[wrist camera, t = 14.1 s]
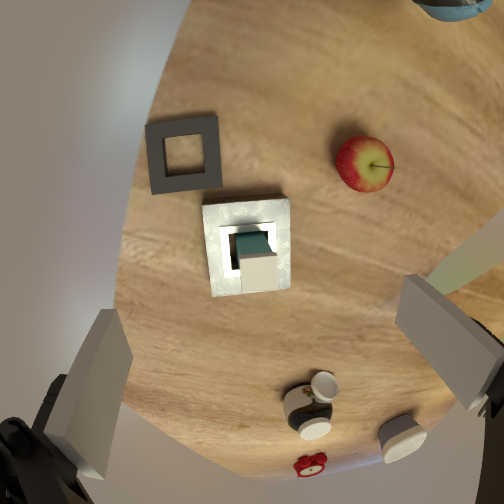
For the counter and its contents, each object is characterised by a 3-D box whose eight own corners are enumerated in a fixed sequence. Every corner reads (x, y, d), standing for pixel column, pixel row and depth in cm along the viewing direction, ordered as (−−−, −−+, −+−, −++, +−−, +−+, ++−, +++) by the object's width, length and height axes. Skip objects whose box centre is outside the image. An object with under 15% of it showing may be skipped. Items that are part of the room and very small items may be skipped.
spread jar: (279, 405, 62) (289, 444, 51) (283, 373, 57) (296, 415, 47) (327, 398, 63) (342, 434, 52) (336, 366, 59) (355, 403, 48)
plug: (232, 228, 45) (239, 259, 33) (261, 225, 45) (277, 255, 34) (234, 254, 46) (242, 293, 35) (262, 252, 47) (278, 288, 35)
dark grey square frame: (148, 125, 37) (144, 124, 35) (217, 117, 38) (217, 115, 36) (155, 191, 41) (151, 194, 39) (222, 184, 42) (222, 187, 40)
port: (202, 199, 42) (201, 206, 38) (283, 193, 44) (290, 198, 40) (212, 284, 48) (212, 297, 44) (284, 276, 49) (290, 289, 45)
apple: (374, 184, 45) (409, 197, 36) (328, 188, 44) (357, 202, 35) (372, 135, 42) (408, 137, 32) (325, 136, 41) (354, 137, 32)
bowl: (408, 427, 79) (420, 448, 69) (370, 444, 79) (381, 467, 68) (416, 404, 73) (431, 428, 63) (375, 423, 73) (388, 449, 62)
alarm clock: (293, 480, 75) (301, 472, 67) (290, 465, 80) (297, 454, 72) (322, 474, 76) (334, 465, 68) (318, 459, 82) (329, 448, 73)
